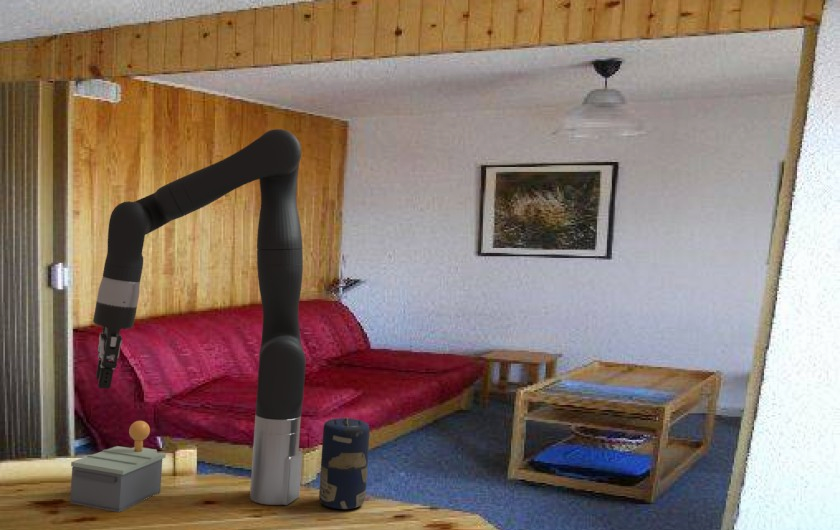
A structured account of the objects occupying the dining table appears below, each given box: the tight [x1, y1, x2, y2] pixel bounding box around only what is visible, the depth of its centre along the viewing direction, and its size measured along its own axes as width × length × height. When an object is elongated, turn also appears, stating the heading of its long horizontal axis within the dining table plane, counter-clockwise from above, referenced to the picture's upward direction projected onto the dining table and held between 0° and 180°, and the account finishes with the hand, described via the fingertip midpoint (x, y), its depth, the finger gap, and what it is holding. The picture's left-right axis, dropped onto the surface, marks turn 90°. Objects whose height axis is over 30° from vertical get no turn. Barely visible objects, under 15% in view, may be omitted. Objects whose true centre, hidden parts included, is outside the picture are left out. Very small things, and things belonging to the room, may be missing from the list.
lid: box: [70, 420, 167, 475], centre depth 154 cm, size 12×15×7 cm
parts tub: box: [69, 459, 163, 513], centre depth 153 cm, size 11×14×7 cm
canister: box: [318, 416, 371, 510], centre depth 158 cm, size 10×10×18 cm
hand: (102, 383), depth 152 cm, fingers open, 8 cm apart
